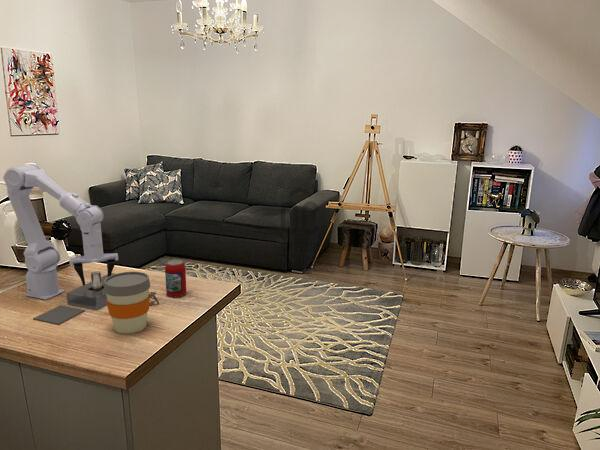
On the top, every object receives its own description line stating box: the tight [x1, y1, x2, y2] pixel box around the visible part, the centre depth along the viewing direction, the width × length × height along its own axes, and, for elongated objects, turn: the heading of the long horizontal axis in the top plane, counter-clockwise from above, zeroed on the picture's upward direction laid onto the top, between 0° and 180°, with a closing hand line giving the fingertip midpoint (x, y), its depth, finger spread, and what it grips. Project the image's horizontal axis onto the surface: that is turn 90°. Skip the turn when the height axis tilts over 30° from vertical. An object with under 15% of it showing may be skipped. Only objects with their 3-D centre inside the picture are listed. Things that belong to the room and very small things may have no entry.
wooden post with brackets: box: [149, 291, 160, 307], centre depth 146 cm, size 2×8×4 cm, turn 113°
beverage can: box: [164, 258, 187, 298], centre depth 154 cm, size 7×7×12 cm
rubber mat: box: [32, 304, 86, 326], centre depth 138 cm, size 10×10×1 cm
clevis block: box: [65, 272, 115, 311], centre depth 152 cm, size 12×20×4 cm, turn 161°
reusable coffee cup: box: [104, 271, 151, 335], centre depth 130 cm, size 12×12×15 cm
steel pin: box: [90, 271, 102, 291], centre depth 149 cm, size 3×3×10 cm
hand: (96, 282), depth 148 cm, fingers open, 7 cm apart
